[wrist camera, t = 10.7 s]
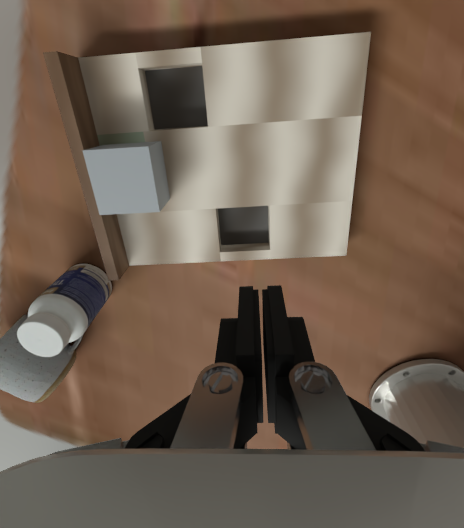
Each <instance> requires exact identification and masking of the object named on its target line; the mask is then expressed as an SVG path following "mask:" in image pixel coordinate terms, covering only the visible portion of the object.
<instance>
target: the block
mask: <svg viewBox="0 0 464 528" xmlns="http://www.w3.org/2000/svg"><path fill="white" fill-rule="evenodd" d="M83 155H84V158H85V162H86V166H87V170H88V173H89V177H90V181H91V185H92V188H93V192H94V196H95V200H96V204H97V207H98V211H99V215H112V214H131V213H151V212H160V211H161V210H162V209H163V207H164V206H165V205H166V204H167V202H168V201H169V200H170V195H169V188H168V182H167V175H166V169H165V162H164V156H163V149H162V143H161V141H155V142H139V143H124V144H108V145H101V146H98V147H94V148H90V149H86V150H83Z"/></svg>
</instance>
